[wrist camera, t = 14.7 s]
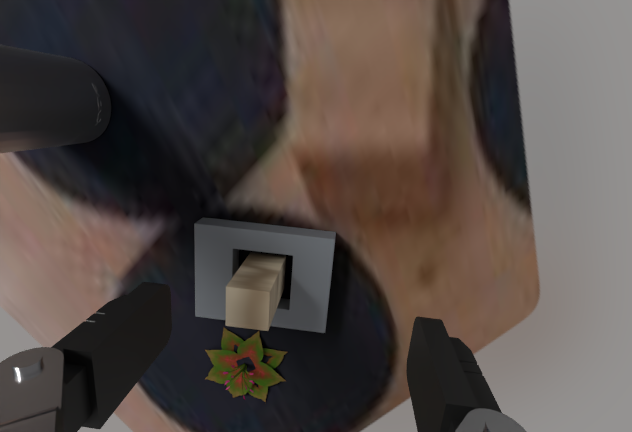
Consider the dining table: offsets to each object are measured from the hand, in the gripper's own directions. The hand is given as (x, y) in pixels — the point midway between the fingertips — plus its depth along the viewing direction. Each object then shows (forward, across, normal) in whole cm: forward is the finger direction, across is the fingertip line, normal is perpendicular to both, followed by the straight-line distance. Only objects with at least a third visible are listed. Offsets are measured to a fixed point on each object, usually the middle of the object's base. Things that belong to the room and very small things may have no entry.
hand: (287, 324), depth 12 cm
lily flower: (+31, +9, +27) cm, 42 cm away
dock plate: (+30, +7, +13) cm, 34 cm away
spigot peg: (+30, +7, +13) cm, 34 cm away
